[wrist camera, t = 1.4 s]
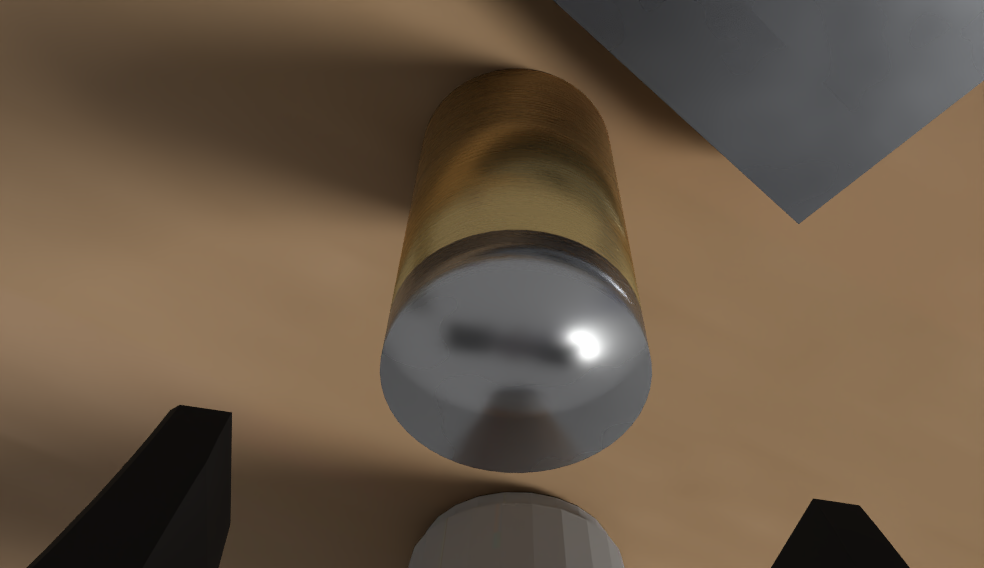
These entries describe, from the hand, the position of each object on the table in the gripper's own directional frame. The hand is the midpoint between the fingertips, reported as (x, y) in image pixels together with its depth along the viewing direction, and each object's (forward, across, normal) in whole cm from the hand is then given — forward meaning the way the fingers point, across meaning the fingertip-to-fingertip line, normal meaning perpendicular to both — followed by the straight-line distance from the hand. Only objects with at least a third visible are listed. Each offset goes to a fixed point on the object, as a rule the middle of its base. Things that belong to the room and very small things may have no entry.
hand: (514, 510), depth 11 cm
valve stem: (+9, 0, 0) cm, 9 cm away
